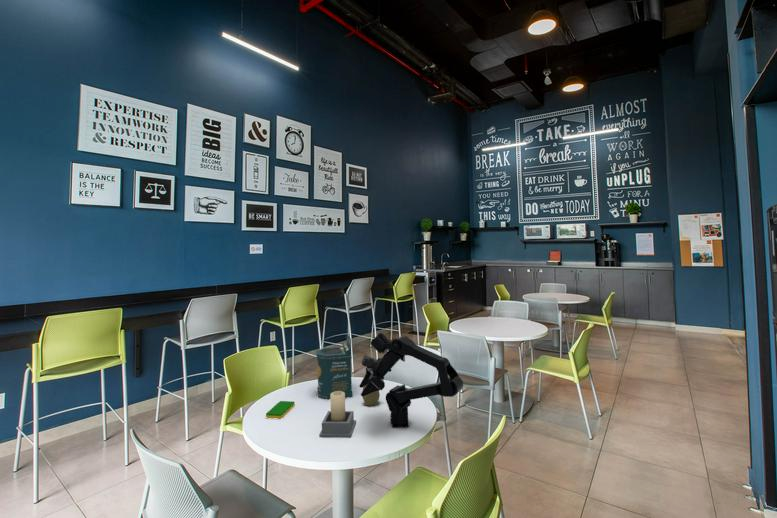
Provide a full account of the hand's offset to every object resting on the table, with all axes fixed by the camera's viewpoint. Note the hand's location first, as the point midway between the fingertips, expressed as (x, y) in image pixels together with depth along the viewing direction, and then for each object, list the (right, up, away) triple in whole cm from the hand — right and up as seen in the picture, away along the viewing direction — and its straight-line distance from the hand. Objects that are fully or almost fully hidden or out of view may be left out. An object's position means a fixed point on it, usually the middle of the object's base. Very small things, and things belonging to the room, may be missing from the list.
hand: (360, 391), depth 143 cm
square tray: (-8, -14, -3) cm, 17 cm away
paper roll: (-8, -13, -3) cm, 16 cm away
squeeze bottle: (+3, -14, +21) cm, 25 cm away
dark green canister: (-16, -14, +35) cm, 41 cm away
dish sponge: (-36, -15, +15) cm, 42 cm away
